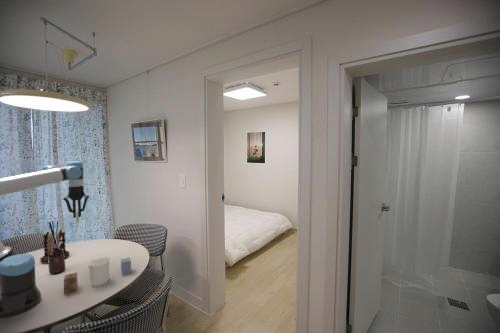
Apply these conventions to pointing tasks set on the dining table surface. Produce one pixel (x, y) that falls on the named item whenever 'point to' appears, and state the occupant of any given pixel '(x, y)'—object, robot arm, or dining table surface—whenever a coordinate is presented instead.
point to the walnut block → (70, 283)
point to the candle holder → (99, 271)
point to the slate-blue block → (125, 266)
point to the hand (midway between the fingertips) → (77, 222)
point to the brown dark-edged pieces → (50, 244)
